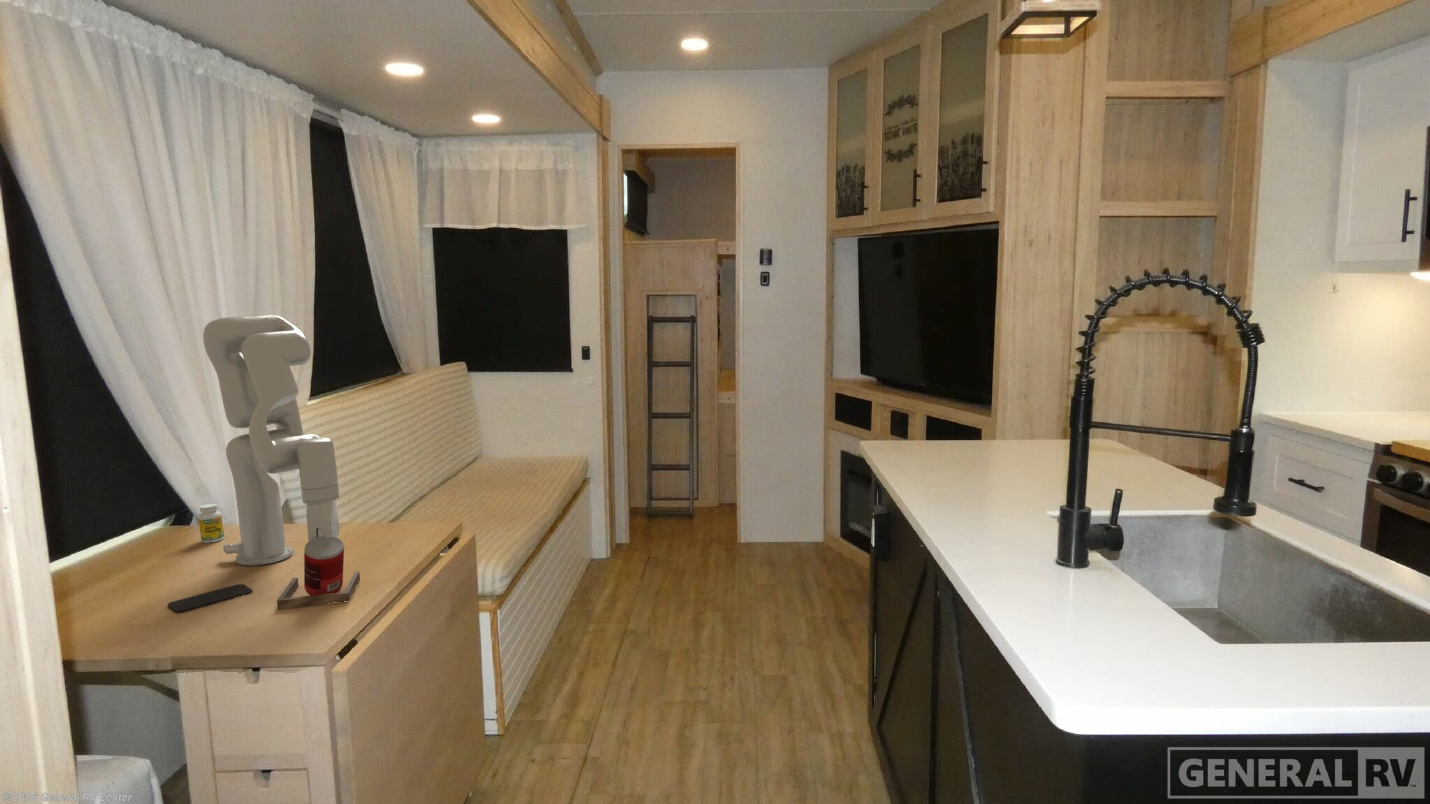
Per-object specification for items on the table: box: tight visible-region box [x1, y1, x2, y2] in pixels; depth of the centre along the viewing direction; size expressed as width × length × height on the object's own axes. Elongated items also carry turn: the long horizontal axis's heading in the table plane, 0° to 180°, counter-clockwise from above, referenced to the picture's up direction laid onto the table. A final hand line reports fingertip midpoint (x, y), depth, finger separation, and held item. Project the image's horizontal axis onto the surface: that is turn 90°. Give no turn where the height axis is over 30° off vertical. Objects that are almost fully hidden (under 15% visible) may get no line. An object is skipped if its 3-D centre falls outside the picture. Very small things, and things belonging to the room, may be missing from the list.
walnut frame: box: [276, 571, 361, 611], centre depth 180 cm, size 14×14×2 cm
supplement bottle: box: [197, 503, 225, 544], centre depth 219 cm, size 5×5×10 cm
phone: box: [167, 583, 253, 614], centre depth 179 cm, size 7×1×15 cm
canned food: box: [303, 536, 345, 596], centre depth 179 cm, size 8×8×11 cm
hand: (330, 572), depth 185 cm, fingers closed
